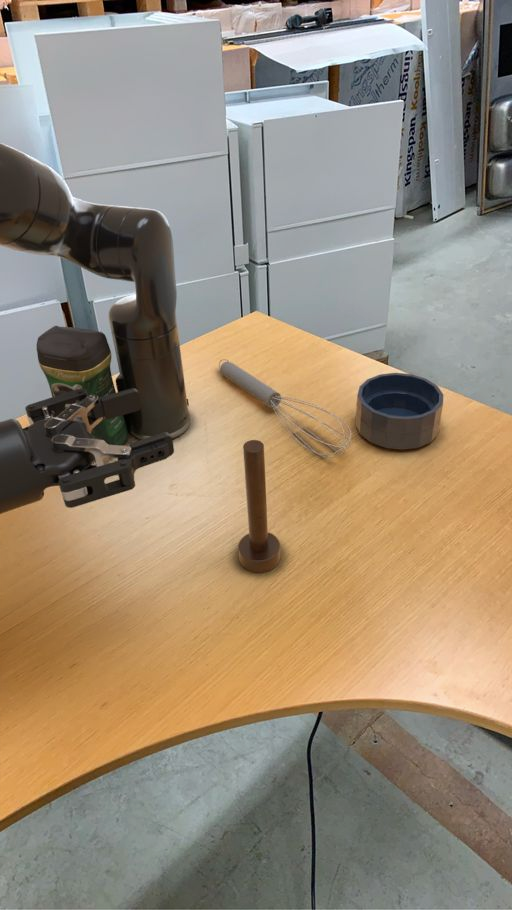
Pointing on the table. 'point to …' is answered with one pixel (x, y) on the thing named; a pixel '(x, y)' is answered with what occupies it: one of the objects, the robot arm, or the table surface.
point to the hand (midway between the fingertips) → (154, 419)
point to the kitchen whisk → (273, 399)
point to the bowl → (399, 410)
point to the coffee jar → (81, 371)
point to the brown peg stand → (257, 515)
